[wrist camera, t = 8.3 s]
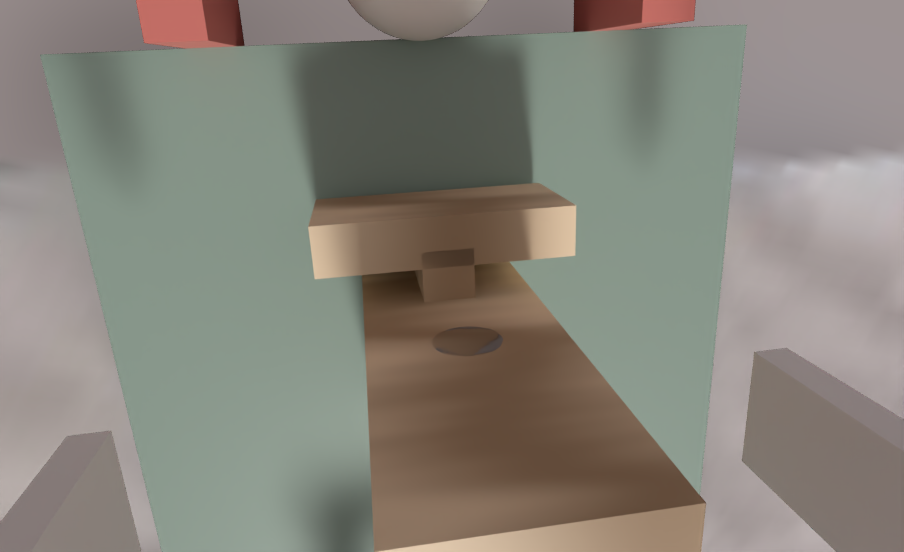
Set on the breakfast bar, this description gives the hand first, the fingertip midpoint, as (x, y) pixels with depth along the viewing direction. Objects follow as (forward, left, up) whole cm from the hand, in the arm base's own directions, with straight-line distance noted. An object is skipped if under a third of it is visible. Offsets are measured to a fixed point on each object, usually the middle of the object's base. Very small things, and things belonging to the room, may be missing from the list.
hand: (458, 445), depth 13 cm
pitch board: (0, -2, -7) cm, 7 cm away
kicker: (0, -6, -6) cm, 8 cm away
